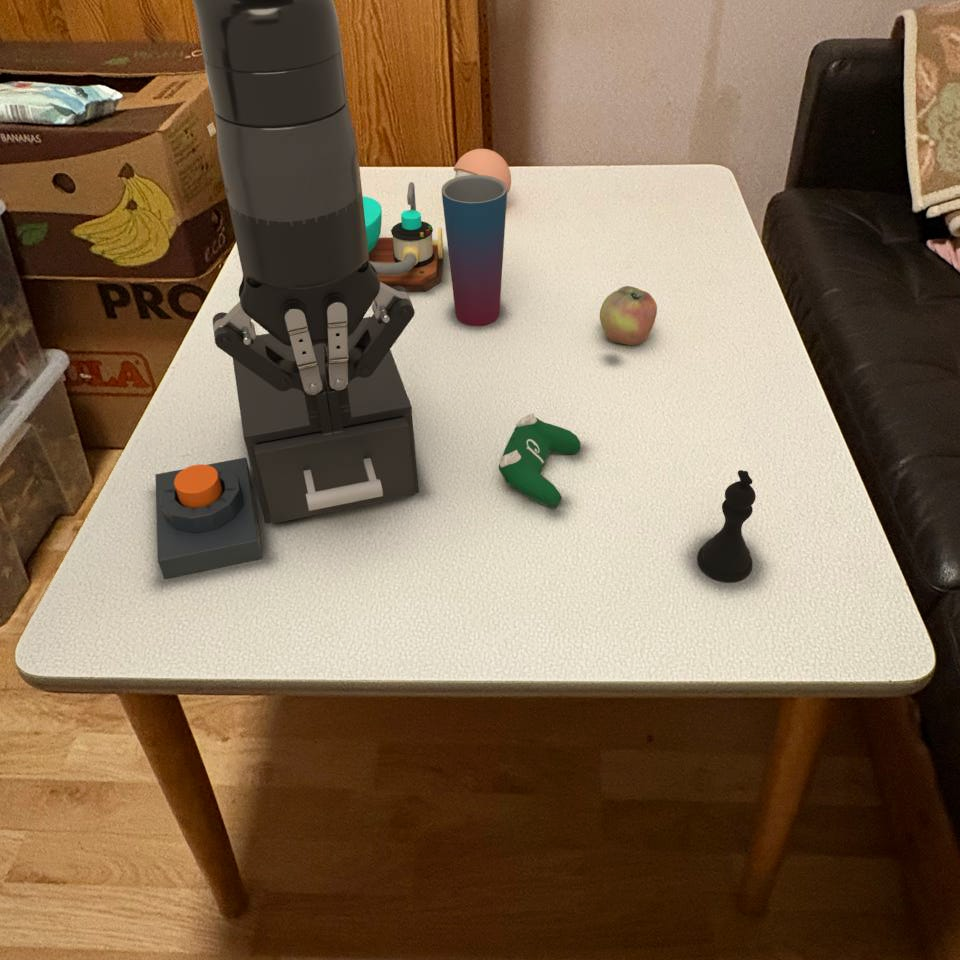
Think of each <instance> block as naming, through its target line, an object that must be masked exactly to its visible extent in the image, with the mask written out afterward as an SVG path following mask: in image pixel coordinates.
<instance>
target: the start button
mask: <svg viewBox="0 0 960 960" xmlns="http://www.w3.org/2000/svg"><path fill="white" fill-rule="evenodd" d="M182 469H183V470H182V471H181V472H179V473H178V474H177V476H176V477H175V480H174V485H175V488H176V491H177V494H178V497H179V500H180V502H181V503H182V504H183V505H185V506H187V507H191V508H198V507H203V506H208V505H209V504H211V503H213V502H215V501H216V500H217V499H218V498H219V497H220V496H221V493H222V486H221V482H220V479H219V475H218V472H217V470H216V469H215V468H213V467H212V466H209V465H208V464H203V463H202V464H201V463H200V464H194V465H193V464H192V465H190V466H187V467H186V468H182Z"/></svg>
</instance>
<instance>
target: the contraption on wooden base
mask: <svg viewBox="0 0 960 960" xmlns="http://www.w3.org/2000/svg"><path fill="white" fill-rule="evenodd" d="M362 196H363V195H362ZM406 201H407V206H410V209H407V210H403V211H402V212H401V213H400V219H401V222H398V223H396V224H394V225H393V226H392V228H391V229H390V232H391V235H392V237H380V236H381V231H382V221H383V220H382V219H383V217H382V216H383V214H382V212H383V211H382V210H383V209H382V206H381V203H380V202H379V201H377V200H376V199H375V198H372V197H369V196H363V206H364V215H365V225H366V235H367V244H368V254H369V261H370V263H371V264H372V266H373V267H374V268H375V270H376V272H377V276H378V277H379V280H380V282H382V283H384V284H386V285H387V286H389V287H391V288H393V287H395V286H401V287H403V288H405V290H406V292H407V293H417V292H418V293H427V292H428V291H430V290H431V289H432V288H434V287H435V286H437V285H439V284H440V283H442V281H443V269H444V254H445V252H444V251H445V250H444V248H443V246H444V240H443V228H442V227H437V240H433V232H434V228H433V226H432V225H431V224H430V223H428V222H426V221H423V220H422V214H421V211H418V210H417V204H416V190H415V183H414V182H413V181H410V182H409V183H408V188H407V194H406Z"/></svg>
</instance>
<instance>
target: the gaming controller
mask: <svg viewBox="0 0 960 960" xmlns="http://www.w3.org/2000/svg"><path fill="white" fill-rule="evenodd" d="M580 450H581V440H580V438H579V437H578V435H576V434H575V433H573V432H572V431H570V430H569V429H566V428H564V427H561V426H558V425H556V424H555V425H554V424H551V423H548V422H545V421H543V420H541V419H539V418H538V417H536V416H535V413H534V412H532V413H530V414H527V415H526V416H523V417H522V418H520V420H519V421H518V422H517V423H516V426H515V428H514V429H513V432H512V433H511V436H510V437H509V439H508V441H507V444H506V446H505V448H504V451H503V453H502V456H501V457H500V460H499V462H498V470H499V473H500V474H501V476H502V477H503V479H504V481H505V483H506V484H508V485H509V486H511V487H512V488H513V489H515V491H518V492H519V493H520V494H522V495H524V496H525V497H527V498H529V499H532V500H533V501H535V502H538V503H539V504H542V505H545V506H548V507H551V508H556V507H557V505H559V503H560V502H561V500H562V498H563V496H562V495H561V493H560V492H559V489H557V487H556V486H555V485H554V484H553V483H552V482H551V481H550V480H549V479H548V478H546V477H545V476H544V475H542V474H541V473H542V472H543V469H544V466H545V464H546V461H547V459H548V456H549V453H556V454H561V455H563V454H564V455H575V454H577V453H578V452H579V451H580Z"/></svg>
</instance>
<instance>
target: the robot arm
mask: <svg viewBox="0 0 960 960" xmlns="http://www.w3.org/2000/svg"><path fill="white" fill-rule="evenodd" d="M191 1H192V4H193V8H194V12H195V16H196V21H197V27H198V35H199V42H200V49H201V54H202V58H203V64H204V65H203V66H204V70H205V74H206V79H207V80H206V81H207V84H208V89H209V94H210V99H211V104H212V108H213V113H214V114H213V115H214V119H215V121H214V122H215V130H216V146H217V155H218V161H219V166H220V176H221V181H222V184H223V187H224V190H225V196H226V200H227V206H228V208H229V214H230V218H231V224H232V228H233V232H234V238H235V243H236V248H237V253H238V257H239V261H240V267H241V271H242V278H241V279H242V280H241V283H240V285H239V287H238V297H239V302H237V303H236V304H235V306H233V307H232V309H230V310H229V311H228V312H223V311H221V312H217V313H216V314H215V315H213V317H212V327H213V328H212V329H213V336H214V344H215V345H216V347H217V348H218V349H219V350H221V351H222V352H224V353H225V354H227V355H228V356H229V357H231V358H232V359H233V358H234V359H235V360H237V361H238V362H239V363H241V364H242V365H244V366H245V367H246V368H248V369H249V370H251V371H252V372H253V373H255V374H256V375H258V376H259V377H260V378H262V379H263V380H265V381H266V382H267V383H269V384H270V385H272V386H273V387H274V388H276V389H277V390H279V391H288V390H290V389H291V388H295V389H299V390H301V391H302V392H303V393H304V397H305V403H306V409H307V414H308V418H309V423H310V425H311V426H312V428H313V429H319V428H321V432H322V435H323V436H324V435H329V434H334V433H340V432H343V425H342V424H347V423H349V422H350V419H351V410H350V403H349V395H348V384H349V382H350V381H351V380H352V379H354V378H356V377H358V376H359V377H361V378H367V377H369V376H371V375H372V374H373V372H374V371H375V370H376V368H377V367H378V365H379V364H380V363H381V361H382V360H383V358H384V357H385V356H386V354H387V353H388V351H389V350H391V349H392V348H393V346H394V344H395V343H396V341H398V339H399V338H400V336H401V335H402V333H403V332H404V331H405V329H406V328H407V327H408V325H409V324H410V322H411V321H412V319H413V318H414V316H415V314H416V313H415V308H414V306H413V303H412V300H411V298H410V296H409V294H408V292H406V290H405V288H403V287H401V286H395V287H393V288H391V287H389V286H387V285H386V284H384V283H382V282H380V280H379V277H378V276H377V272H376V270H375V268H374V267H373V266H372V264H371V263H370V261H369V254H368V244H367V235H366V225H365V215H364V206H363V187H362V178H361V169H360V160H359V149H358V148H359V147H358V142H357V136H356V132H355V127H354V123H353V119H352V115H351V111H350V106H349V100H348V91H347V82H346V73H345V72H346V71H345V65H344V54H343V45H342V35H341V29H340V22H339V17H338V12H337V9H336V5H335V2H334V0H191ZM370 307H371V310H372V312H373V314H372V315H371V316H370V317H371V318H370V320H369V321H368V323H367V324H366V326H365V327H364V328H363V330H362V331H361V333H360V334H359V336H358V337H357V339H356V340H355V342H354V343H353V344H352V346H351V347H350V350H349V351H348V336H350V335H351V334H352V333H353V332H354V331H355V330H356V328H357V327H358V325H359V323H360V322H361V320H362V319H363V318H365V315H366V314H367V312H368V311H369V309H370ZM253 321H254V322H255V323H256V324H258V325H259V326H260V327H261V328H262V329H264V330H265V331H266V332H268V333H270V334H271V335H272V336H274V337H275V338H276V339H277V340H278V341H280V342H281V343H283V344H285V345H287V346H292V347H293V351H294V355H295V359H296V361H291V360H288V359H287V358H286V357H285V356H284V355H282V354H281V353H280V352H278V351H277V350H276V349H274V348H273V347H272V346H270V345H269V344H268V343H266V342H265V341H264V340H262V339H261V338H260V337H258V336H257V335H258V334H257V332H256V327H255V324H254V322H253ZM320 343H321V344H323V350H324V364H325V374H319V370H318V366H317V362H316V358H315V354H314V350H313V346H314V345H317V344H320ZM322 375H323V378H322ZM323 381H324V382H323ZM332 430H333V433H332Z"/></svg>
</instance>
